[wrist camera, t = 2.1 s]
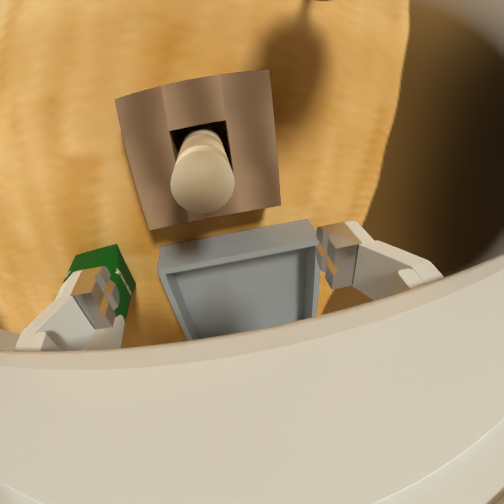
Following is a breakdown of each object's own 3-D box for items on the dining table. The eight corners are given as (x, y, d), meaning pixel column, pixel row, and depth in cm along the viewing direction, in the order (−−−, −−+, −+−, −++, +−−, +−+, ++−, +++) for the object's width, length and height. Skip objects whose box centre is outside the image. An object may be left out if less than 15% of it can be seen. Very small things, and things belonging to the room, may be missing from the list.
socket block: (155, 209, 31) (149, 230, 27) (128, 97, 23) (114, 99, 19) (270, 188, 32) (280, 205, 28) (258, 72, 24) (269, 69, 20)
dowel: (187, 161, 29) (178, 218, 17) (180, 128, 26) (164, 161, 15) (222, 155, 29) (238, 207, 18) (217, 121, 27) (229, 148, 15)
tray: (196, 338, 46) (197, 361, 41) (161, 246, 34) (156, 270, 30) (305, 316, 47) (314, 337, 43) (307, 219, 36) (322, 238, 32)
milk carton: (68, 251, 32) (13, 371, 15) (120, 236, 32) (76, 372, 16) (94, 296, 37) (65, 413, 21) (144, 286, 37) (128, 416, 21)
